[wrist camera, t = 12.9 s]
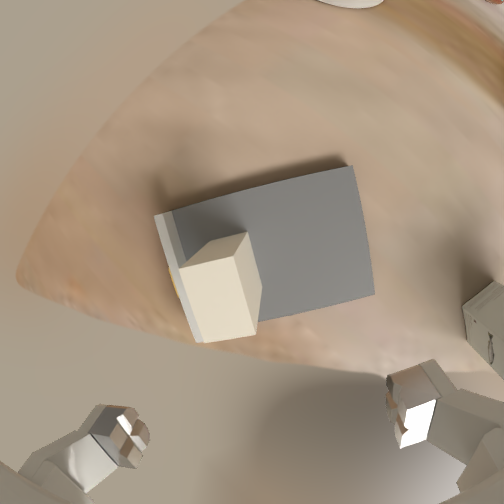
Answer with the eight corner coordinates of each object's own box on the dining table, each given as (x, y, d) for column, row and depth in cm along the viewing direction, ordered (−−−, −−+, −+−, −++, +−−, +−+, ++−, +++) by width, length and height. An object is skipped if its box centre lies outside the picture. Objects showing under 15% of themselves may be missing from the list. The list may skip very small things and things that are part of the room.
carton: (262, 286, 30) (255, 334, 20) (224, 294, 30) (202, 343, 20) (247, 231, 28) (233, 256, 19) (208, 241, 29) (175, 269, 19)
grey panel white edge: (165, 212, 30) (151, 216, 26) (348, 166, 27) (359, 163, 23) (202, 326, 33) (193, 343, 29) (370, 289, 30) (382, 303, 26)
